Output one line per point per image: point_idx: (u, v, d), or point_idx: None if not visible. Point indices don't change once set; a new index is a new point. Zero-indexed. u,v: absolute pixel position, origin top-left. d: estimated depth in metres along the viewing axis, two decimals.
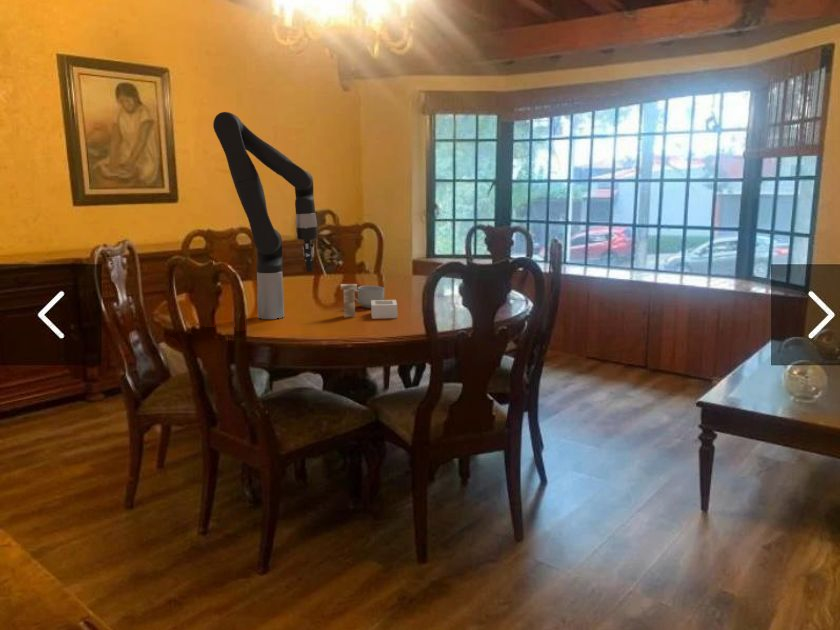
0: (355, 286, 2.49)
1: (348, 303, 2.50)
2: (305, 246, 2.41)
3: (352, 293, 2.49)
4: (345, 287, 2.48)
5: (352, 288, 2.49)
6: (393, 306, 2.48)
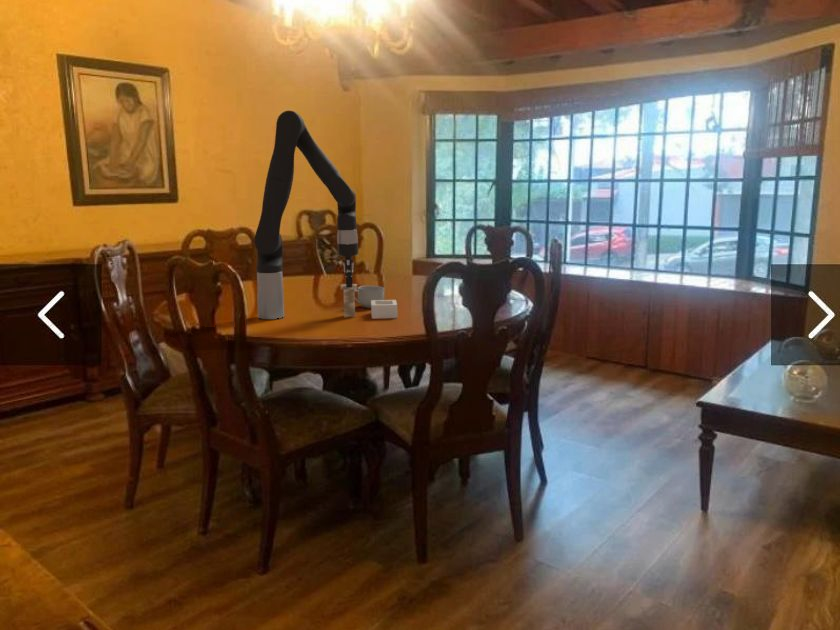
0: (355, 286, 2.49)
1: (348, 303, 2.50)
2: (346, 262, 2.42)
3: (352, 293, 2.49)
4: (345, 287, 2.48)
5: (352, 288, 2.49)
6: (393, 306, 2.48)
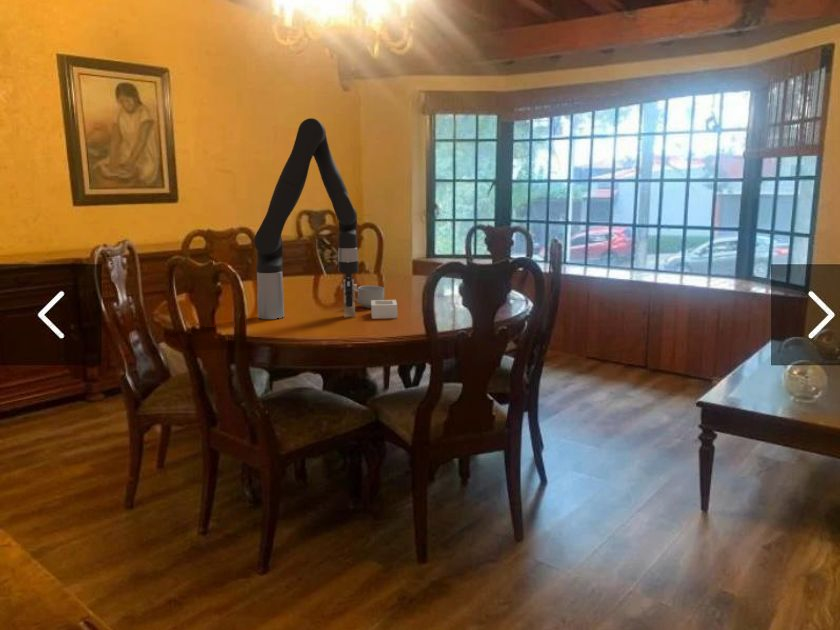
0: (355, 286, 2.49)
1: None
2: (347, 284, 2.44)
3: None
4: None
5: None
6: (393, 306, 2.48)
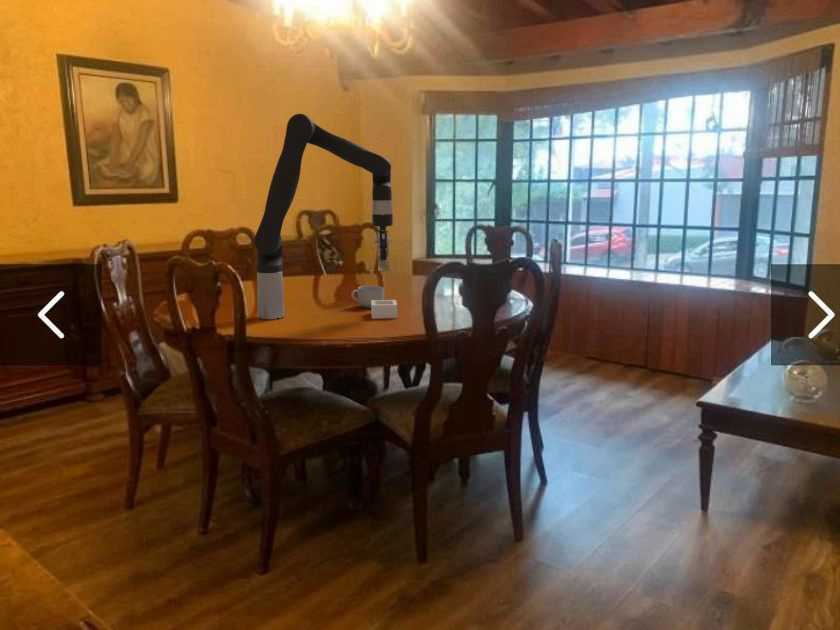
0: (389, 239, 2.47)
1: None
2: (382, 236, 2.42)
3: None
4: None
5: None
6: (393, 306, 2.48)
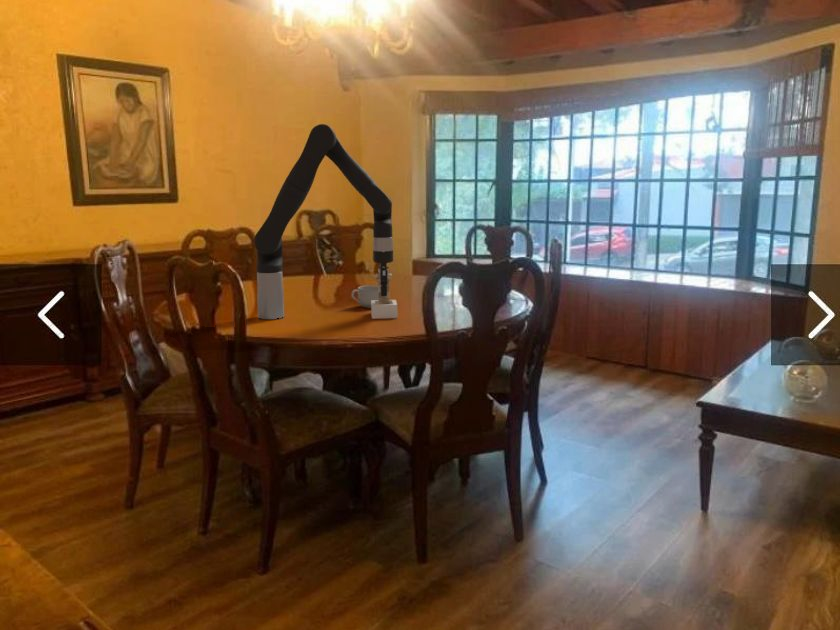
0: (390, 275, 2.49)
1: None
2: (382, 273, 2.44)
3: (387, 282, 2.50)
4: None
5: None
6: (393, 306, 2.48)
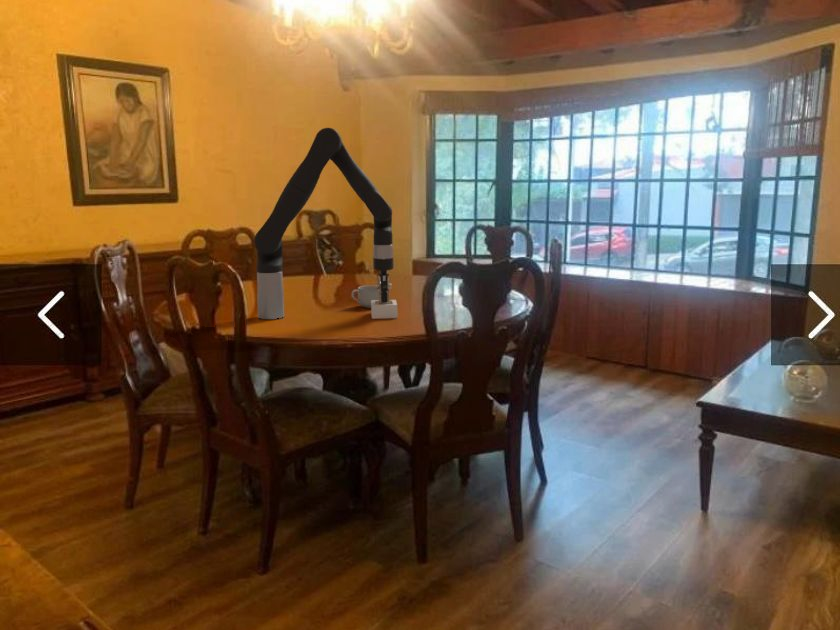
0: (390, 285, 2.50)
1: (383, 302, 2.51)
2: (382, 278, 2.44)
3: (387, 292, 2.50)
4: None
5: None
6: (393, 306, 2.48)
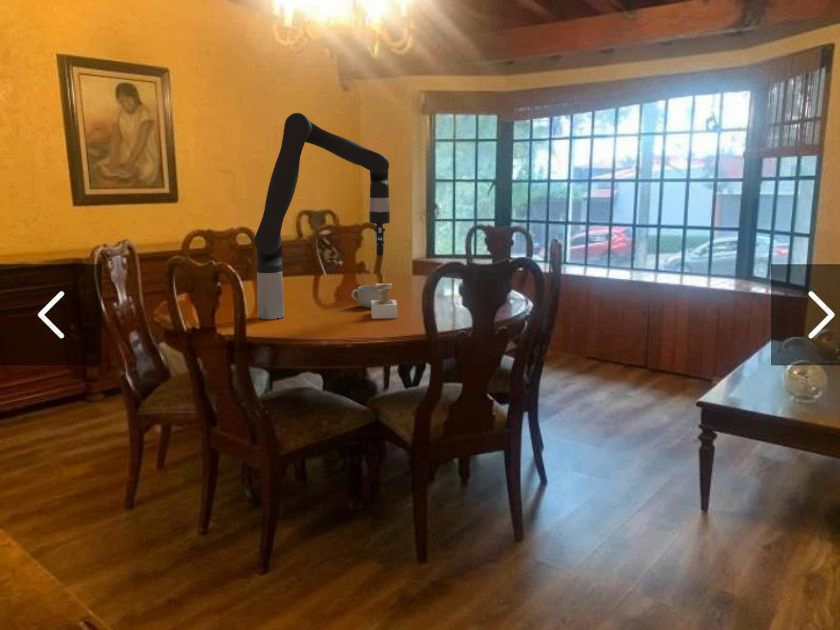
0: (390, 285, 2.50)
1: (383, 302, 2.51)
2: (378, 230, 2.42)
3: (387, 292, 2.50)
4: (380, 286, 2.50)
5: (387, 287, 2.50)
6: (393, 306, 2.48)
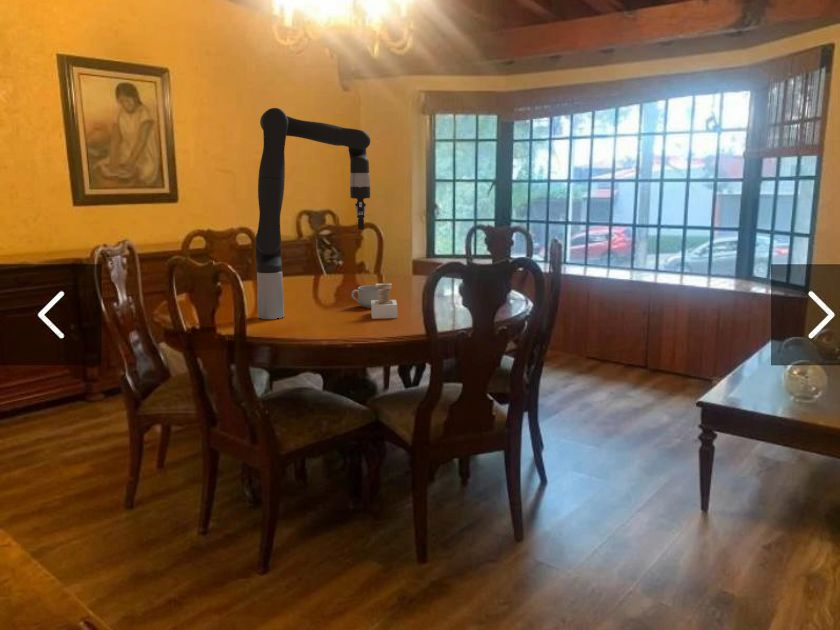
0: (390, 285, 2.50)
1: (383, 302, 2.51)
2: (359, 204, 2.47)
3: (387, 292, 2.50)
4: (380, 286, 2.50)
5: (387, 287, 2.50)
6: (393, 306, 2.48)
